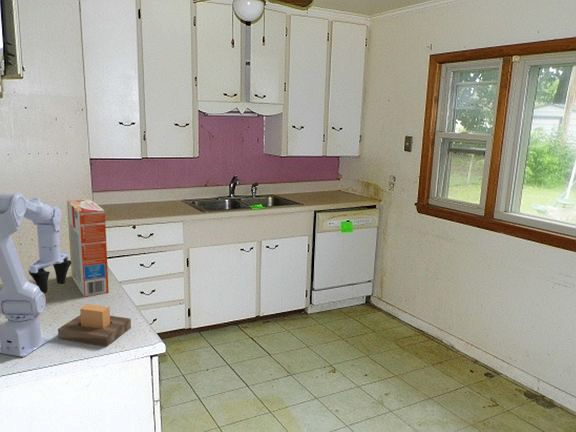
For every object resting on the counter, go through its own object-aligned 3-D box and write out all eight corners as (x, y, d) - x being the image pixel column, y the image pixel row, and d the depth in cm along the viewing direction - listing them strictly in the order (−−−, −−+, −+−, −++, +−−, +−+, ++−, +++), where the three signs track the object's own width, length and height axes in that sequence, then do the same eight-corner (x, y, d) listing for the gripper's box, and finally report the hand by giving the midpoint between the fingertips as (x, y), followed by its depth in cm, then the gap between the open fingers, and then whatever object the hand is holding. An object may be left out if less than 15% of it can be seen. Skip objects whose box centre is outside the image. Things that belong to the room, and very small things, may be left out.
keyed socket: (107, 346, 127) (106, 336, 127) (58, 338, 131) (57, 328, 130) (131, 327, 139) (130, 318, 138) (85, 320, 142) (85, 311, 142)
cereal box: (108, 292, 164) (104, 210, 158) (84, 297, 160) (79, 212, 153) (93, 273, 183) (89, 199, 176) (71, 276, 178) (66, 200, 172)
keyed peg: (103, 337, 132) (102, 311, 131) (81, 334, 134) (80, 308, 132) (110, 332, 136) (109, 306, 134) (89, 329, 137) (87, 304, 135)
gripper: (43, 253, 131) (46, 298, 134) (76, 240, 144) (79, 281, 147) (21, 250, 132) (25, 295, 135) (57, 238, 146) (60, 278, 149)
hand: (52, 287), depth 141 cm, fingers open, 7 cm apart
